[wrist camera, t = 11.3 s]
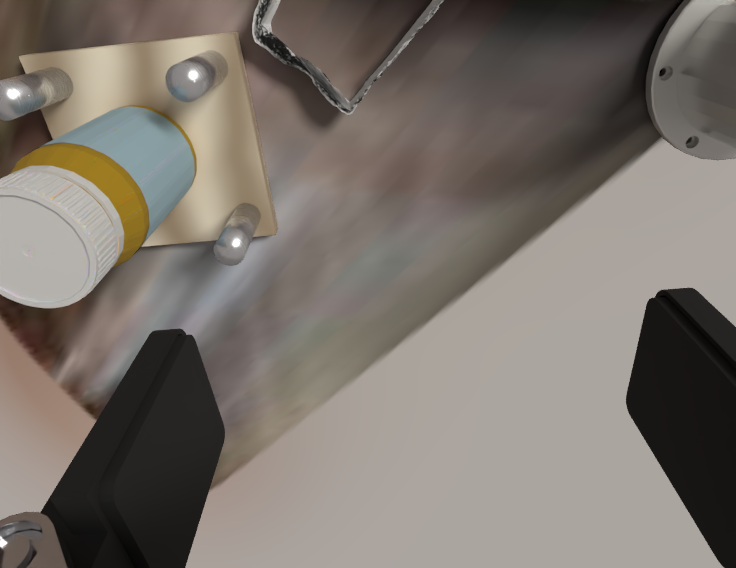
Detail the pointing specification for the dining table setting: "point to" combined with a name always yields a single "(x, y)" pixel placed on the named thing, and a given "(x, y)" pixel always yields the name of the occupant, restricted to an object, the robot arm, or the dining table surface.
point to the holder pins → (183, 84)
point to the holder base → (197, 118)
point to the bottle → (89, 203)
